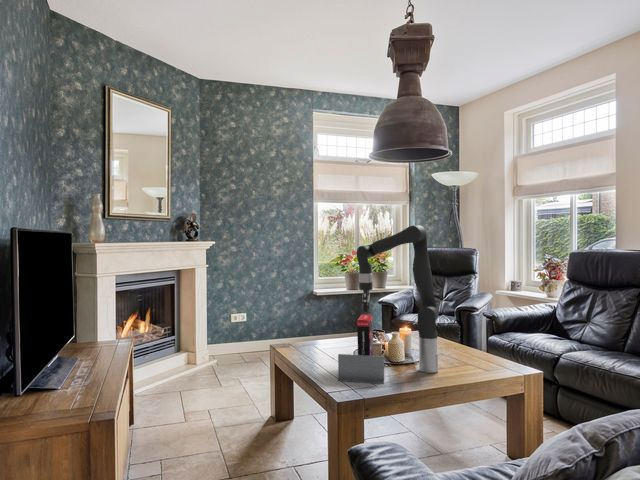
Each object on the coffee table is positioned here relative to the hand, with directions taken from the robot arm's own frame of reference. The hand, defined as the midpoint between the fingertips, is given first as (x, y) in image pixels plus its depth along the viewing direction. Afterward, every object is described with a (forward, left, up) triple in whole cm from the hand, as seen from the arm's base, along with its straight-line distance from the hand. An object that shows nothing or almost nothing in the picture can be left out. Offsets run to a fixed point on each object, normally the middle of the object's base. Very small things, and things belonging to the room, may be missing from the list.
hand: (366, 310), depth 260 cm
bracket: (-1, +31, -28) cm, 42 cm away
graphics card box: (-1, +16, -28) cm, 33 cm away
